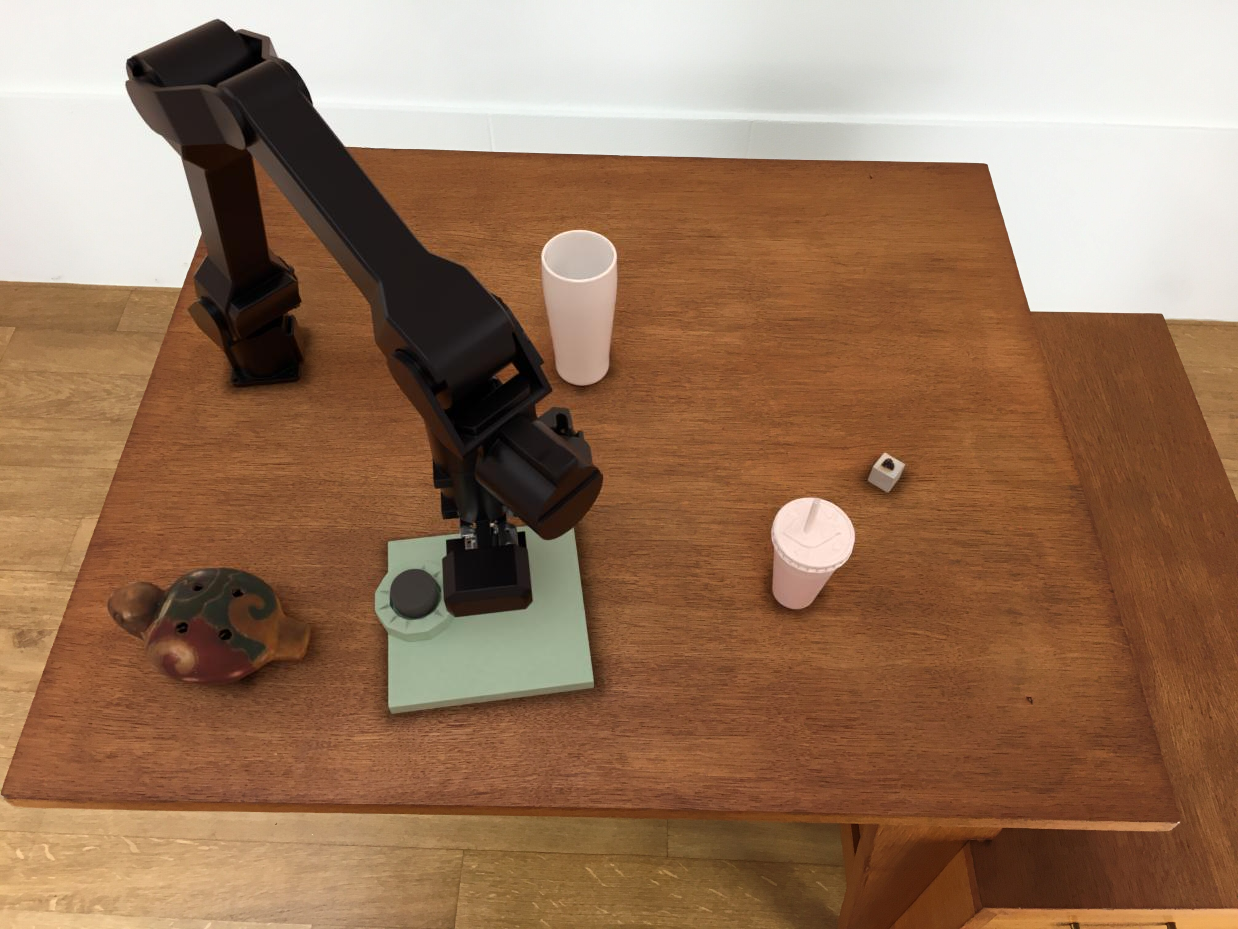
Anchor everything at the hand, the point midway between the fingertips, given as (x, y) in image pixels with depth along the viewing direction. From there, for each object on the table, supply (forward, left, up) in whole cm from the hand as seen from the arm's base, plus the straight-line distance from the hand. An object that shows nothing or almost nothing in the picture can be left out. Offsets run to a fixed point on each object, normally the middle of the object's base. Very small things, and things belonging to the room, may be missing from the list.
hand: (492, 551), depth 80 cm
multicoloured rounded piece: (-22, -4, -4) cm, 23 cm away
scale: (-1, -4, -3) cm, 5 cm away
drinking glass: (+10, +22, -4) cm, 24 cm away
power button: (-6, -3, -1) cm, 7 cm away
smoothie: (+25, -5, -4) cm, 26 cm away
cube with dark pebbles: (+36, +5, -4) cm, 37 cm away
